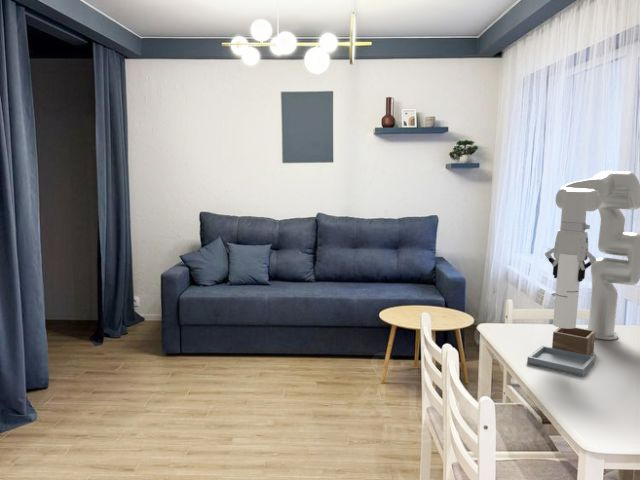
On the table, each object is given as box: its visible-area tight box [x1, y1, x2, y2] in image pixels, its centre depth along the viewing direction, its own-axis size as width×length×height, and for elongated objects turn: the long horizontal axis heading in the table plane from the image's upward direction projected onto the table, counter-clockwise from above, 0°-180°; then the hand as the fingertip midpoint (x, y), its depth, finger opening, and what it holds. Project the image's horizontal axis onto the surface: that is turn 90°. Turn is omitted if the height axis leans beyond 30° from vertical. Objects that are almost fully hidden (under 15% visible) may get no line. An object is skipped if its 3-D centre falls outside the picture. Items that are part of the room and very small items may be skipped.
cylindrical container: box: [552, 253, 581, 329], centre depth 198 cm, size 7×7×25 cm
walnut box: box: [551, 326, 596, 356], centre depth 213 cm, size 12×12×8 cm
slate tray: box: [526, 345, 596, 378], centre depth 202 cm, size 16×18×2 cm
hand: (568, 278), depth 198 cm, fingers closed on cylindrical container, 7 cm apart
